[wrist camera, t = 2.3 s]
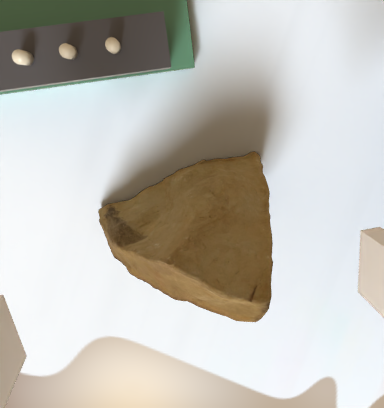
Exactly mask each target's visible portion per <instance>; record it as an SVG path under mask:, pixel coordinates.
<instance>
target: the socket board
mask: <svg viewBox="0 0 384 408" xmlns="http://www.w3.org/2000/svg"><path fill="white" fill-rule="evenodd" d="M190 68H195V66H194V57H193V49H192V40H191V32H190V24H189V15H188V7H187V0H0V95H1V94H8V93H16V92H23V91H30V90H37V89H45V88H52V87H59V86H67V85H74V84H81V83H88V82H96V81H103V80H110V79H117V78H125V77H132V76H139V75H147V74H154V73H161V72H168V71H176V70H183V69H190Z"/></svg>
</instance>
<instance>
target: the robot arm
mask: <svg viewBox="0 0 384 408" xmlns="http://www.w3.org/2000/svg"><path fill="white" fill-rule="evenodd" d="M358 293H359V294H360V295H361V296H362V297H363V298H364V299H365V300H366V301H367V302H368V303H369V304H370V305H371V306H372V307H373V308H374V309H375V310H376V311H377V312H378V313H379V314H380V315H381V316H382V317H383V318H384V229H382V228H381V227H377V228H372V229H366V230H361V235H360V256H359V277H358ZM25 359H26V353H25V351H24V348H23V345H22V343H21V340H20V338H19V335H18V332H17V330H16V327H15V325H14V322H13V319H12V317H11V314H10V311H9V309H8V306H7V304H6V301H5V298H4V296H3V295H0V408H5V406H6V403H7V401H8V398H9V396H10V394H11V391H12V389H13V387H14V384H15V382H16V380H17V377H18V375H19V373H20V370H21V368H22V366H23V363H24V361H25Z"/></svg>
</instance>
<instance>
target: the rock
mask: <svg viewBox="0 0 384 408" xmlns="http://www.w3.org/2000/svg"><path fill="white" fill-rule="evenodd" d="M99 216H100V219H99V222H100V224H101V226H102V228H103V231H104V234H105V236H106V238H107V241H108V245H109V247H110V249H111V252H112V254H113V256H114V258H116V259H118V260H119V261H120V262H122V263H123V265H125V266H126V267H127V270H128V271H129V273H130V274H131V275H133V276H135V277H136V278H138V279H141V280H143V281H145V282H147V283H148V284H150V285H151V286H152V287H153V288H155V289H159V290H160V291H161V292H163V293H164V294H166V295H168V296H170V297H171V298H173V299H175V300H180V301H188V302H191V303H193V304H194V305H196V306H198V307H201V308H203V309H206V310H209V311H211V312H214V313H217V314H220V315H223V316H227V317H229V318H231V319H233V320H236V321H244V322H257V321H258V320H260V319H261V318H262V317H263V316H264V315H265V313H266V312H267V311H268V309H269V305H270V300H271V274H272V266H273V261H272V233H271V227H270V214H269V188H268V185H267V182H266V179H265V176H264V175H263V165H262V164H261V161H260V156H259V155H258V154H257V153H256V152H250V153H249V154H247V155H245V156H242V157H232V158H227V159H213V160H209V161H206V160H201V161H200V162H198V163H196V164H194V165H192V166H189V167H186V168H184V169H180V170H178V171H176V172H175V173H174V174H172V175H170V176H168V177H166V178H165V179H164V180H163V181H162V182H160V183H158V184H156V185H154V186H149V187H148V188H146V189H145V190H143V191H141V192H140V193H139V194H138V195H137V196H135V197H134V198H132V199H131V200H127V201H121V202H117V203H111V204H108V205H106V206H104V207H103V208H101V209H99Z"/></svg>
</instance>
